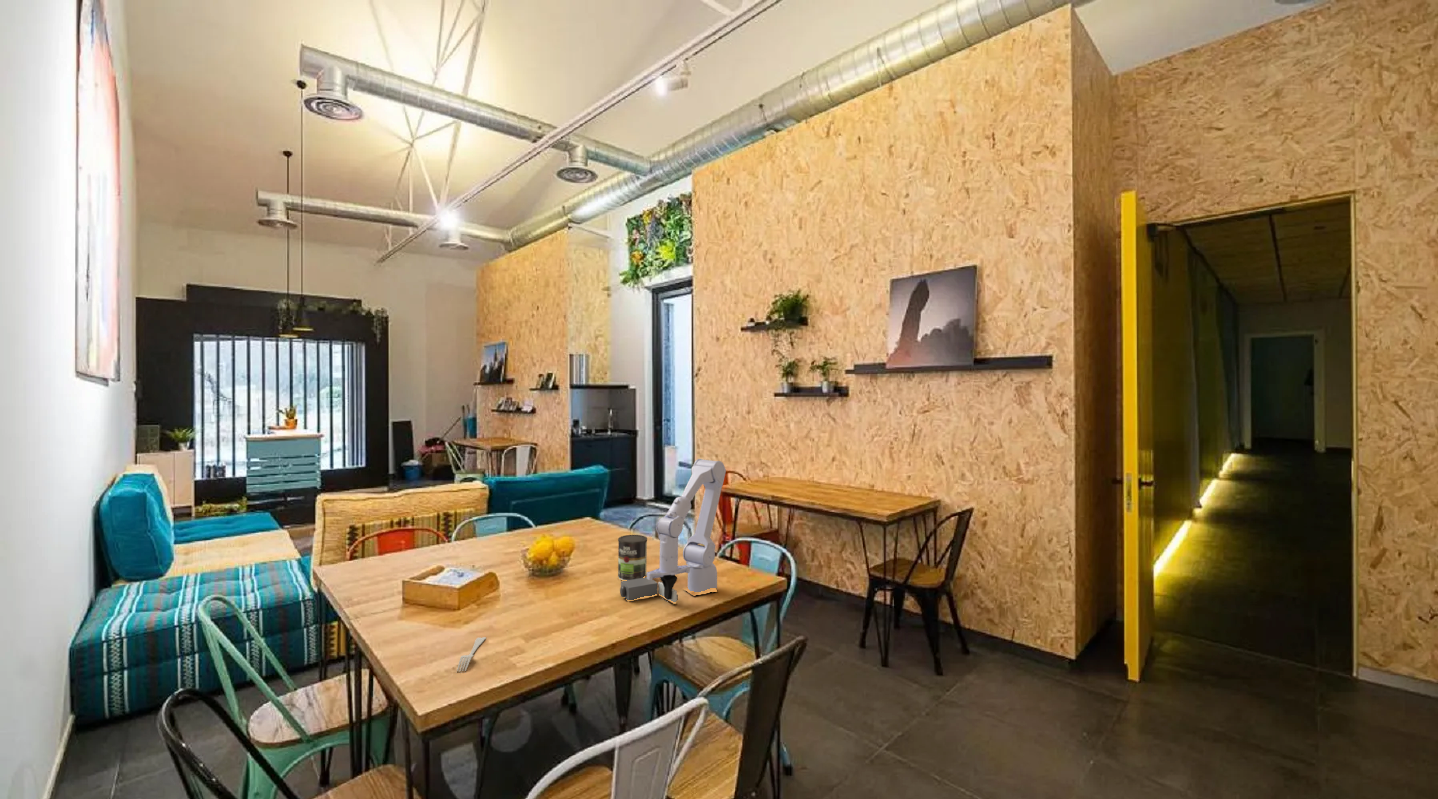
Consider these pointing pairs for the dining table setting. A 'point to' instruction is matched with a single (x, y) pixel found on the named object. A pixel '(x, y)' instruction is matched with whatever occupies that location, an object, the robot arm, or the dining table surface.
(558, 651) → the dining table surface
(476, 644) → the fork
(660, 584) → the side door
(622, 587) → the camera case
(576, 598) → the dining table surface
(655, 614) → the dining table surface
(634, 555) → the coffee can
